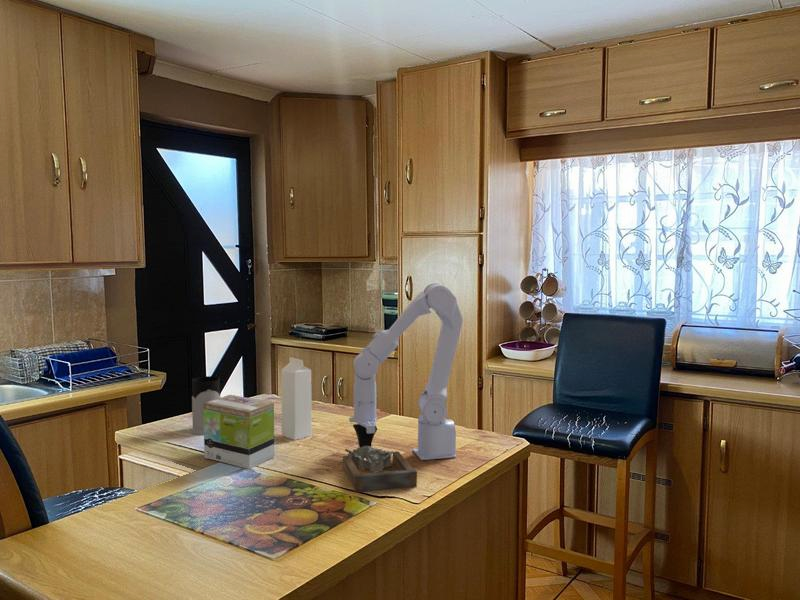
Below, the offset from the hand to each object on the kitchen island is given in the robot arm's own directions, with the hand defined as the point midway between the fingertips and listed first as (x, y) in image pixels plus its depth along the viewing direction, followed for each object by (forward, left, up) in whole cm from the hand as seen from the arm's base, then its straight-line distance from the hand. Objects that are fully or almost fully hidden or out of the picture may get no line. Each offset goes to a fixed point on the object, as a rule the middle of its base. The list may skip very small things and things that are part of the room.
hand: (364, 452), depth 163 cm
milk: (+15, -21, -1) cm, 26 cm away
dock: (0, +14, -1) cm, 14 cm away
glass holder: (+40, -35, -1) cm, 53 cm away
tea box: (+31, -6, -1) cm, 32 cm away
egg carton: (0, +7, -1) cm, 7 cm away
